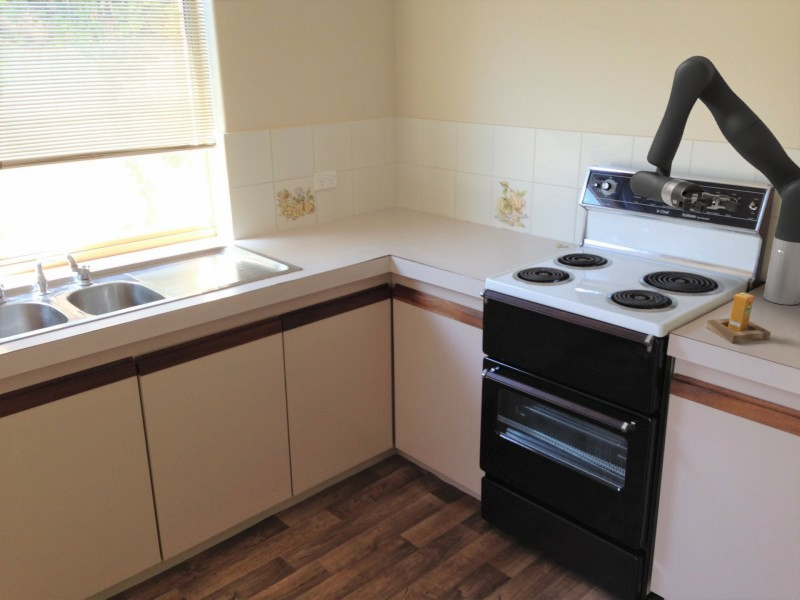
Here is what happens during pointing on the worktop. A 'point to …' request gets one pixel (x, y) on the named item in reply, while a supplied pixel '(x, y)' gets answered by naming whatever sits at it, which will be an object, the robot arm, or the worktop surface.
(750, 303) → the supplement box
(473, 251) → the worktop surface
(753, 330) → the socket board
